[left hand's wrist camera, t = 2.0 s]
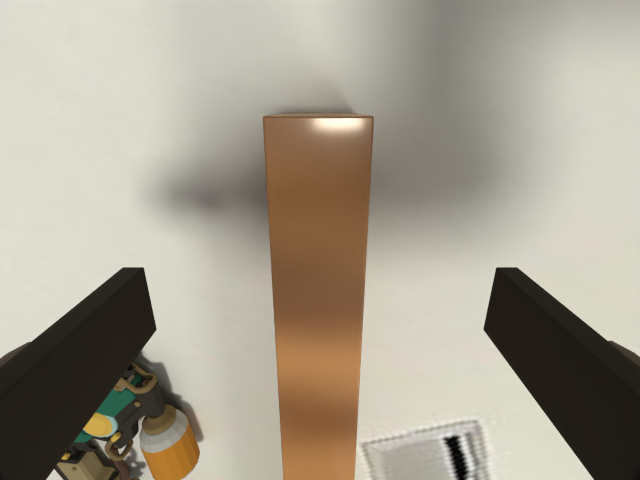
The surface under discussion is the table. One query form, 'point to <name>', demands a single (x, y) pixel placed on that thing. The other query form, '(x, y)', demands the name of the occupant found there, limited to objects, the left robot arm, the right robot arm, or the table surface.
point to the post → (318, 283)
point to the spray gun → (133, 434)
